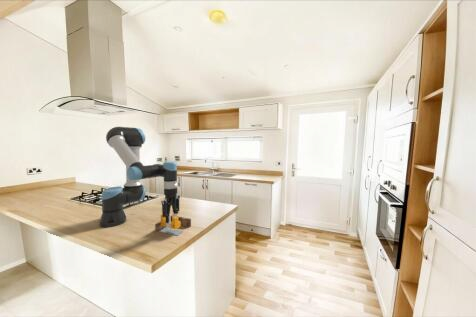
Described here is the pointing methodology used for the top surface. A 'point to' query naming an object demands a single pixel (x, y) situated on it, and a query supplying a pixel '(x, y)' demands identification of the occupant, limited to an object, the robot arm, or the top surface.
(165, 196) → the robot arm
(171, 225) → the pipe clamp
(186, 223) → the brown wooden corner wall
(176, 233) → the pad
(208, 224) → the top surface
